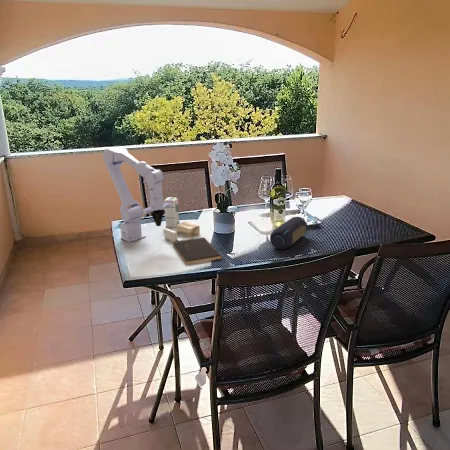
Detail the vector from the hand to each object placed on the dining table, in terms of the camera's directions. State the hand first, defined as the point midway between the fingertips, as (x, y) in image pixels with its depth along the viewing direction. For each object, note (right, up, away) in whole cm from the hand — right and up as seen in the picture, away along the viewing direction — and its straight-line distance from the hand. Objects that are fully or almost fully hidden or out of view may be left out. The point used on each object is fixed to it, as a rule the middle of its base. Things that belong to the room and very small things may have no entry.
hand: (158, 225), depth 198 cm
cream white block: (+6, -7, +7) cm, 12 cm away
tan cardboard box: (+9, -5, +12) cm, 16 cm away
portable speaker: (+61, -8, +2) cm, 61 cm away
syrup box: (+3, 0, +28) cm, 28 cm away
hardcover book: (+18, -12, -7) cm, 23 cm away
